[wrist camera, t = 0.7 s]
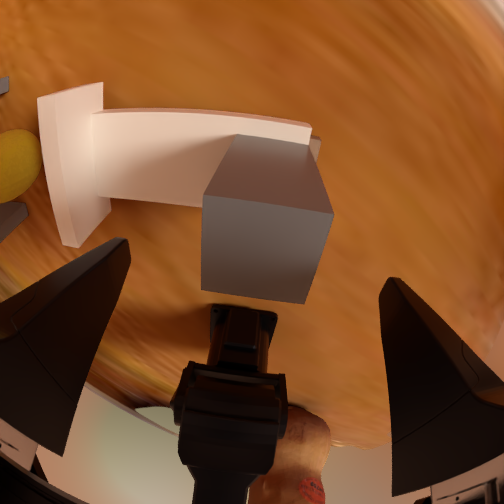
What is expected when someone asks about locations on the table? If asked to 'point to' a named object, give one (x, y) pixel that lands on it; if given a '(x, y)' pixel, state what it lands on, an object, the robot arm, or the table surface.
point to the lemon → (18, 162)
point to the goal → (10, 213)
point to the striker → (194, 184)
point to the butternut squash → (296, 463)
